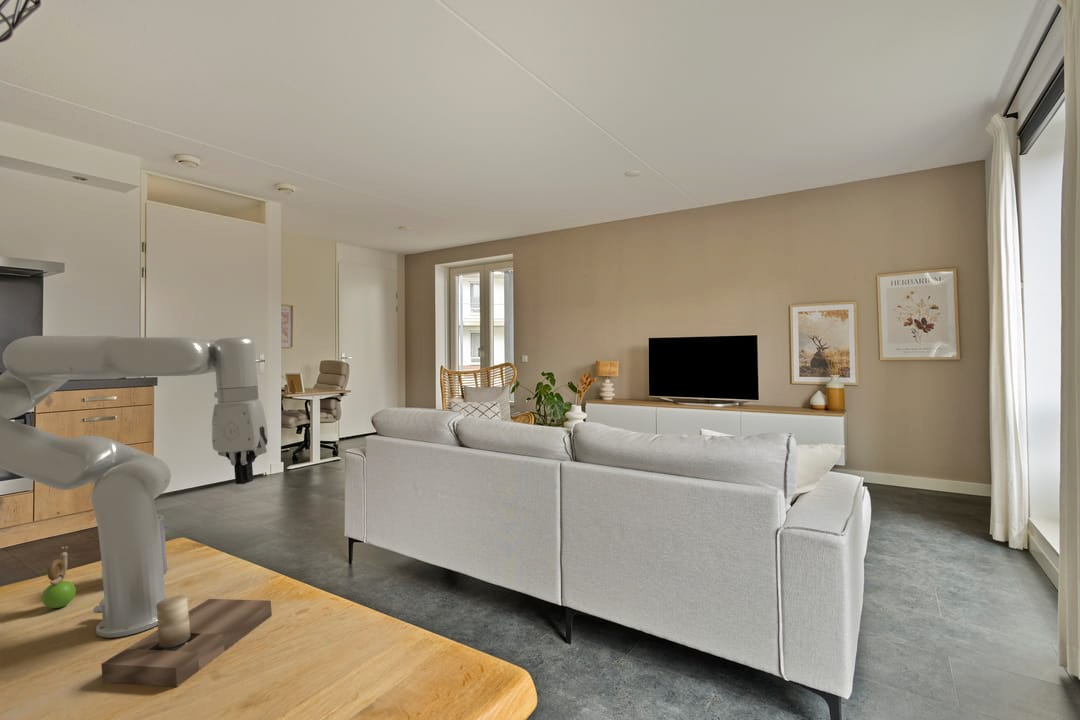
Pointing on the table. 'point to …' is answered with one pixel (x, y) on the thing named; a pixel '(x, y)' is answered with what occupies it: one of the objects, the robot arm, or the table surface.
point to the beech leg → (173, 623)
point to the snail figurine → (58, 584)
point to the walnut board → (210, 636)
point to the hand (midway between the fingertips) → (244, 482)
